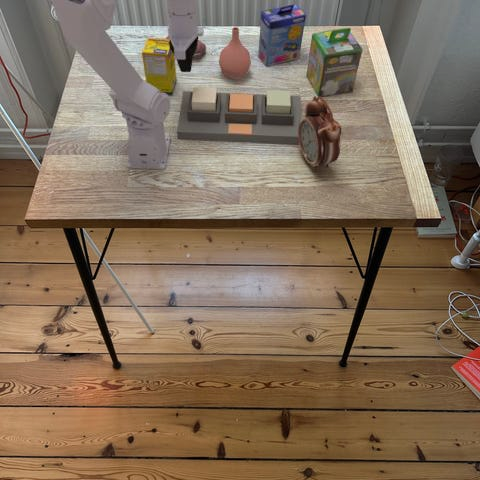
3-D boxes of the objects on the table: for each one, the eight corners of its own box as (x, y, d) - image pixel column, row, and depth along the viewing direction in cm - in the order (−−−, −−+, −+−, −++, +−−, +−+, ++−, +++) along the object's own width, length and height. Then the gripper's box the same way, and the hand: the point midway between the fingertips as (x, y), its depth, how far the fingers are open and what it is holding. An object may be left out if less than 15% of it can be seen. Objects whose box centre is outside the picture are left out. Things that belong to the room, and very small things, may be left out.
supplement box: (176, 80, 122) (173, 38, 114) (172, 95, 119) (168, 54, 110) (152, 78, 123) (147, 36, 114) (147, 93, 119) (141, 51, 110)
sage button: (289, 117, 110) (290, 105, 107) (266, 116, 110) (267, 104, 107) (288, 102, 113) (289, 91, 110) (266, 101, 113) (267, 90, 110)
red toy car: (167, 56, 131) (160, 41, 124) (172, 41, 132) (165, 24, 125) (203, 64, 129) (198, 48, 123) (208, 48, 130) (203, 32, 123)
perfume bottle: (230, 88, 121) (231, 42, 112) (212, 72, 125) (211, 26, 115) (256, 77, 124) (259, 31, 114) (238, 61, 128) (239, 16, 118)
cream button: (215, 114, 110) (215, 102, 107) (192, 113, 110) (191, 101, 107) (216, 99, 113) (216, 88, 110) (194, 98, 113) (193, 87, 110)
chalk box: (339, 70, 127) (351, 13, 115) (353, 92, 121) (367, 35, 110) (304, 75, 125) (313, 17, 113) (317, 98, 120) (327, 40, 108)
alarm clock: (293, 146, 109) (302, 88, 97) (313, 141, 111) (324, 83, 99) (315, 181, 103) (327, 123, 91) (336, 175, 104) (351, 117, 93)
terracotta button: (251, 120, 111) (252, 109, 108) (229, 119, 111) (229, 108, 108) (252, 105, 114) (253, 94, 112) (230, 104, 114) (230, 93, 111)
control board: (301, 144, 110) (304, 127, 106) (177, 138, 110) (175, 122, 106) (299, 103, 118) (301, 86, 115) (183, 98, 118) (182, 81, 115)
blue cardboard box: (266, 68, 126) (270, 12, 115) (256, 56, 129) (260, 0, 118) (301, 59, 129) (308, 3, 118) (290, 47, 132) (297, -8, 121)
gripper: (199, 29, 92) (202, 92, 103) (205, -10, 101) (207, 51, 112) (160, 28, 92) (167, 90, 103) (170, -12, 101) (175, 49, 112)
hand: (185, 70), depth 108 cm, fingers closed
